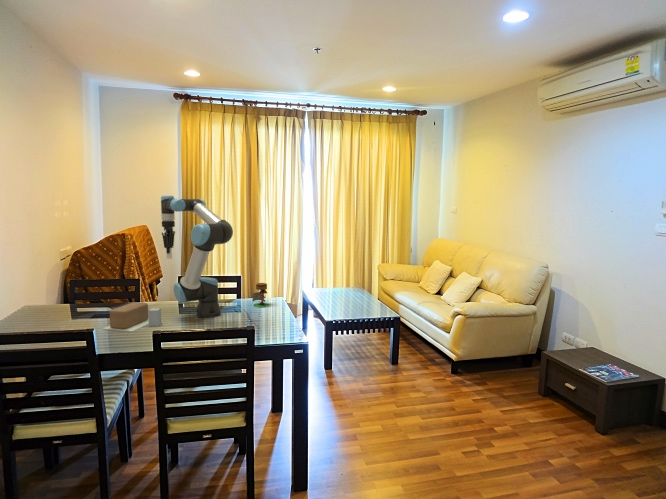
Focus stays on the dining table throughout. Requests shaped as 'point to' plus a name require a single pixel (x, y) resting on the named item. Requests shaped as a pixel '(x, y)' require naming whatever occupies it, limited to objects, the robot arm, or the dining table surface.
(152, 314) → the light grey block
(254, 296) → the figurine on green base
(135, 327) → the mat
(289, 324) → the dining table surface
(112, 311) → the wooden block
